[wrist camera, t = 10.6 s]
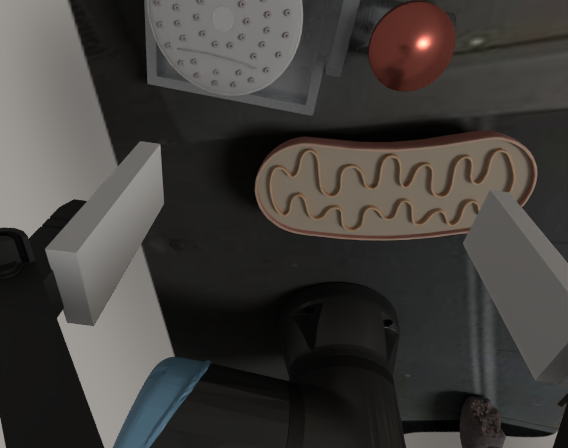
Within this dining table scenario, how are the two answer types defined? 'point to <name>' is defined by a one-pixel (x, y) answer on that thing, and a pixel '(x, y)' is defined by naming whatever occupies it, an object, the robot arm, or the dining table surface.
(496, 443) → the perforated stone tool
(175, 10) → the showerhead
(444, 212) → the anatomical model
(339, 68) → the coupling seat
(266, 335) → the dining table surface
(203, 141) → the dining table surface
